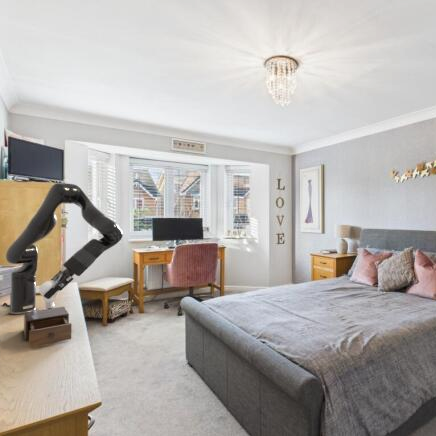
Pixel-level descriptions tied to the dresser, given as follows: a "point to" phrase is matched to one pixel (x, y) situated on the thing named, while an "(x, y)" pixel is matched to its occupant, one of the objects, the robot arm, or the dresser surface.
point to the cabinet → (43, 317)
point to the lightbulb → (44, 289)
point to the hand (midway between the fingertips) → (44, 295)
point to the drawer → (49, 331)
